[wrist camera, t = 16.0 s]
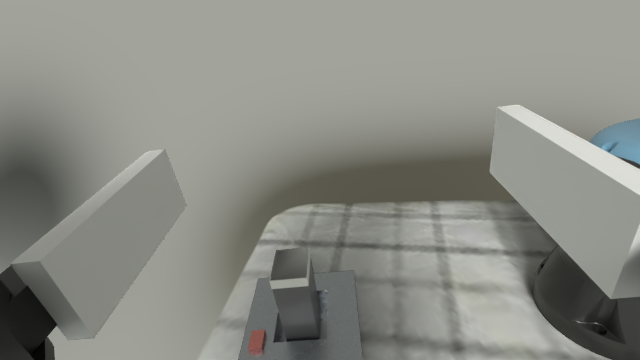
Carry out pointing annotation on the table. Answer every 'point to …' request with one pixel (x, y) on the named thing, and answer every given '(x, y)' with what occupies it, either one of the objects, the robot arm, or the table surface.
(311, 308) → the plug
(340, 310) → the socket block
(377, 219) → the table surface
